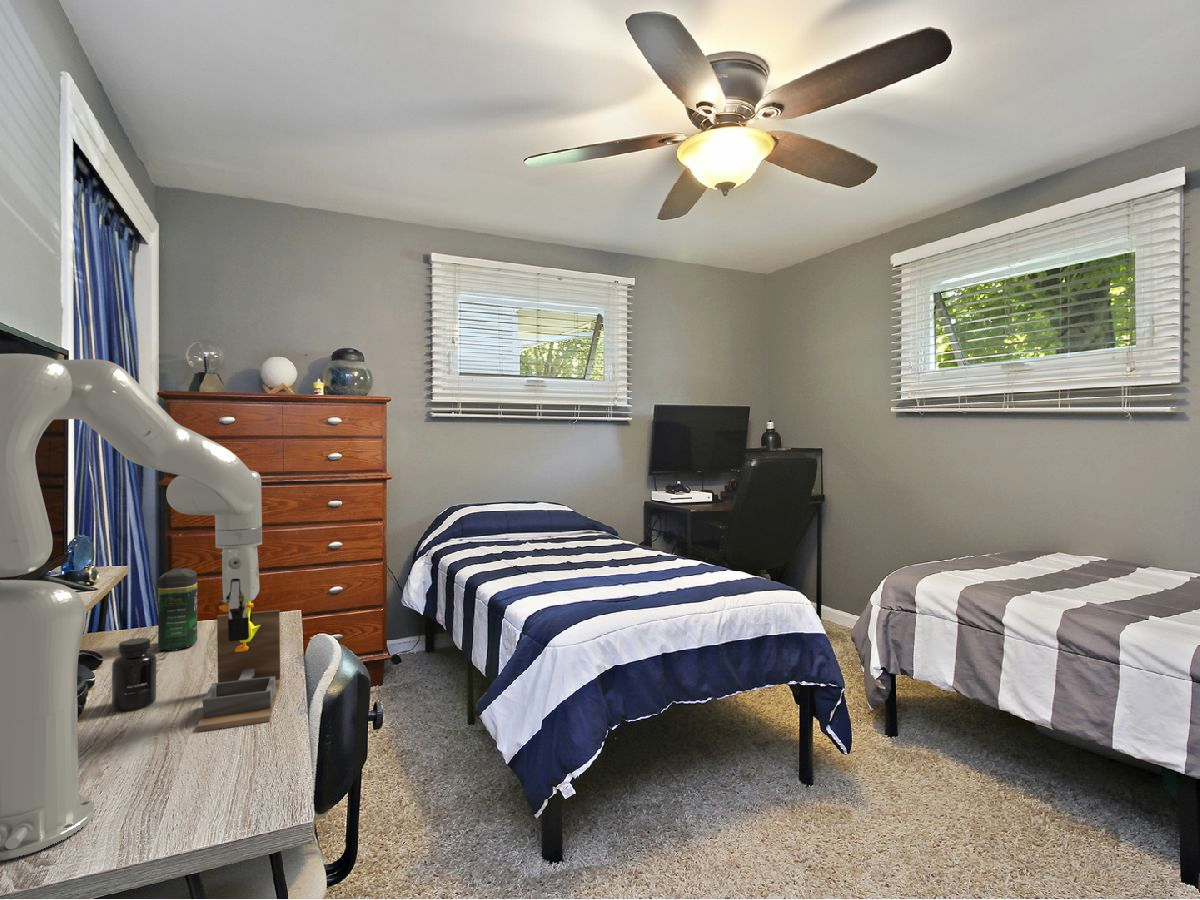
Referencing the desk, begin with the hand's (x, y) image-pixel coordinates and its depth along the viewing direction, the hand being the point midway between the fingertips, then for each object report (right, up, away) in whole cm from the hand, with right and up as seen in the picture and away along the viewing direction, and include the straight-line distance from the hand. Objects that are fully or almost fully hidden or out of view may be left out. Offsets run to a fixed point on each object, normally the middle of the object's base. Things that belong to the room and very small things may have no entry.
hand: (240, 635), depth 119 cm
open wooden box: (-1, -14, +2) cm, 14 cm away
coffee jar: (-36, -14, +38) cm, 55 cm away
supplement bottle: (-21, -14, +2) cm, 25 cm away
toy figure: (0, -3, 0) cm, 3 cm away
